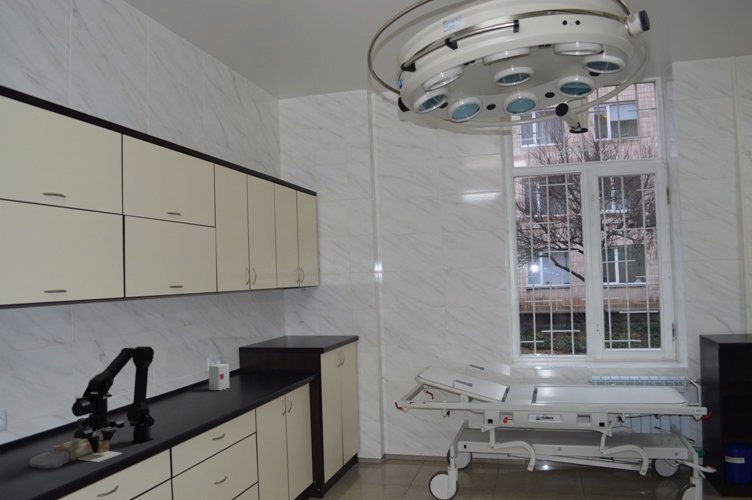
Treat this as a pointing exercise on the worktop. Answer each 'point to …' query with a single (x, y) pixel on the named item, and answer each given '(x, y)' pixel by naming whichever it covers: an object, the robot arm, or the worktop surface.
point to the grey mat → (99, 456)
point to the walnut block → (102, 446)
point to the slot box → (76, 448)
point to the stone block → (50, 460)
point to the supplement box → (218, 376)
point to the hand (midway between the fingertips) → (100, 451)
